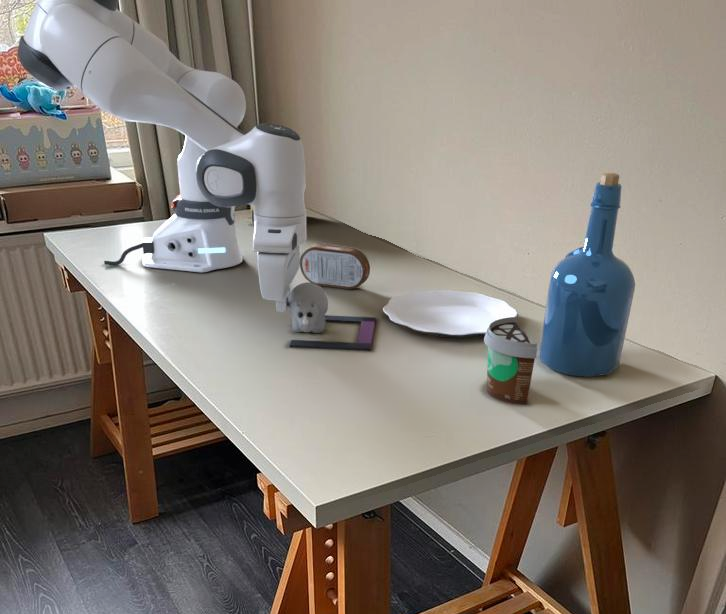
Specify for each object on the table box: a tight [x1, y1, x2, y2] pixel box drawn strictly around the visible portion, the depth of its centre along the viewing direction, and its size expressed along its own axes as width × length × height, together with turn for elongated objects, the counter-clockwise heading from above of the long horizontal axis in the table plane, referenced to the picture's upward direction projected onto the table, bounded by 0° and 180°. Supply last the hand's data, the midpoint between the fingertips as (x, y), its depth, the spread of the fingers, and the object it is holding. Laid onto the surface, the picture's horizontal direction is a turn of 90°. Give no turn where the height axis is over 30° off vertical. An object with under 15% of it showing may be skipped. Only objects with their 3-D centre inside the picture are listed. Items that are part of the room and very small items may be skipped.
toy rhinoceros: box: [287, 282, 329, 334], centre depth 138 cm, size 7×12×8 cm, turn 178°
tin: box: [299, 242, 371, 290], centre depth 162 cm, size 15×3×8 cm, turn 71°
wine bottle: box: [539, 172, 636, 378], centre depth 122 cm, size 14×13×30 cm
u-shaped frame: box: [289, 314, 377, 352], centre depth 141 cm, size 14×16×1 cm
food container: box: [483, 316, 538, 405], centre depth 117 cm, size 12×6×10 cm, turn 5°
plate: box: [382, 289, 519, 338], centre depth 147 cm, size 25×25×2 cm
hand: (282, 308), depth 139 cm, fingers closed
